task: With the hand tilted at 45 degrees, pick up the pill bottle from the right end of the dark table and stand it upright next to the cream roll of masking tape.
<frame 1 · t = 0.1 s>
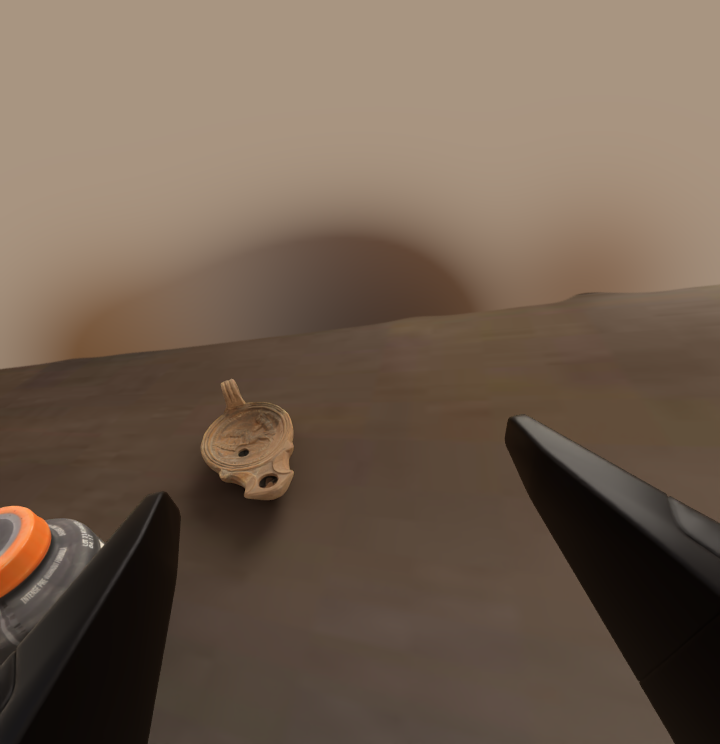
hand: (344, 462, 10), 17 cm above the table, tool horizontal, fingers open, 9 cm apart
oil lamp: (257, 457, 32), on the table
pill bottle: (117, 643, 22), on the table
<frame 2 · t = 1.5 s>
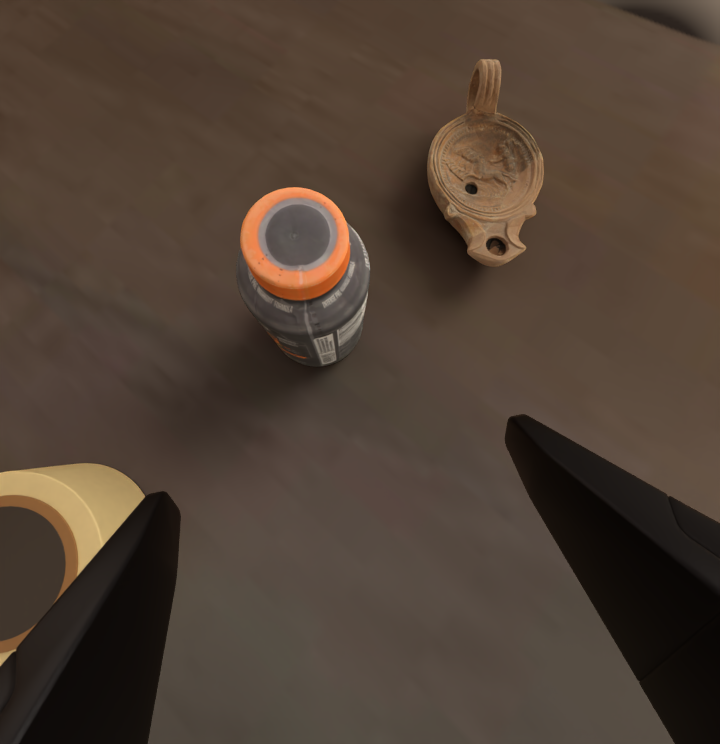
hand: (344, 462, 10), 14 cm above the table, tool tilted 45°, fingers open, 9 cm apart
tape roll: (77, 541, 22), on the table
oil lamp: (470, 195, 27), on the table
pill bottle: (318, 325, 25), on the table
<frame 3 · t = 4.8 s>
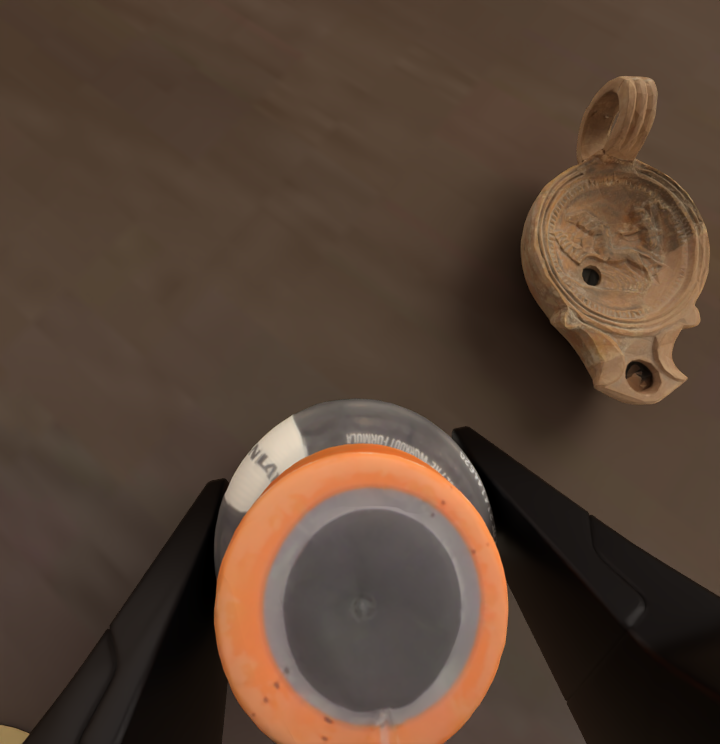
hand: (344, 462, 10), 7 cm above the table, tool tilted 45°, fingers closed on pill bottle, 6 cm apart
oil lamp: (574, 273, 18), on the table
pill bottle: (350, 480, 16), on the table, touching gripper
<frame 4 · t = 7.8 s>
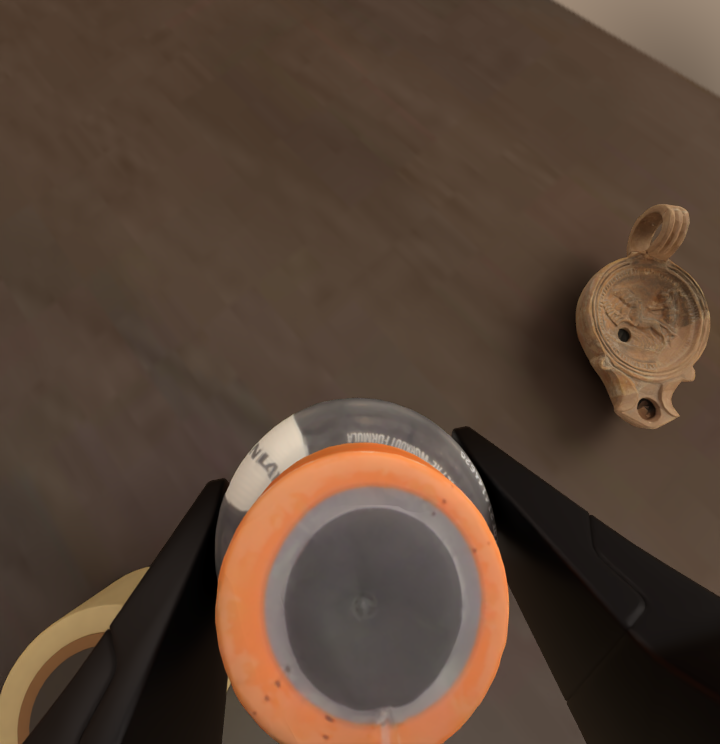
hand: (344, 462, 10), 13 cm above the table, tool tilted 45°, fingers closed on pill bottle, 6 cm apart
tape roll: (157, 650, 21), on the table
oil lamp: (610, 329, 25), on the table
pill bottle: (351, 480, 16), point 6 cm above the table, touching gripper
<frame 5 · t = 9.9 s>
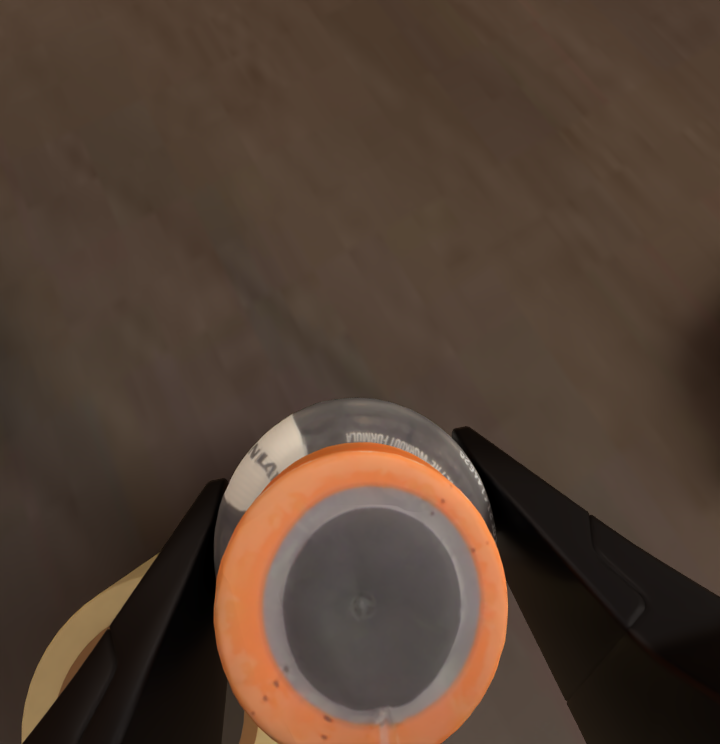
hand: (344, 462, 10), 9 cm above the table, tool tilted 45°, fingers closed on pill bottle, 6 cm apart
tape roll: (209, 634, 17), on the table
pill bottle: (350, 480, 16), point 2 cm above the table, touching gripper
when the fingers open (7 cm above the table, at t = 11.2 s): pill bottle stays where it is, on the table.
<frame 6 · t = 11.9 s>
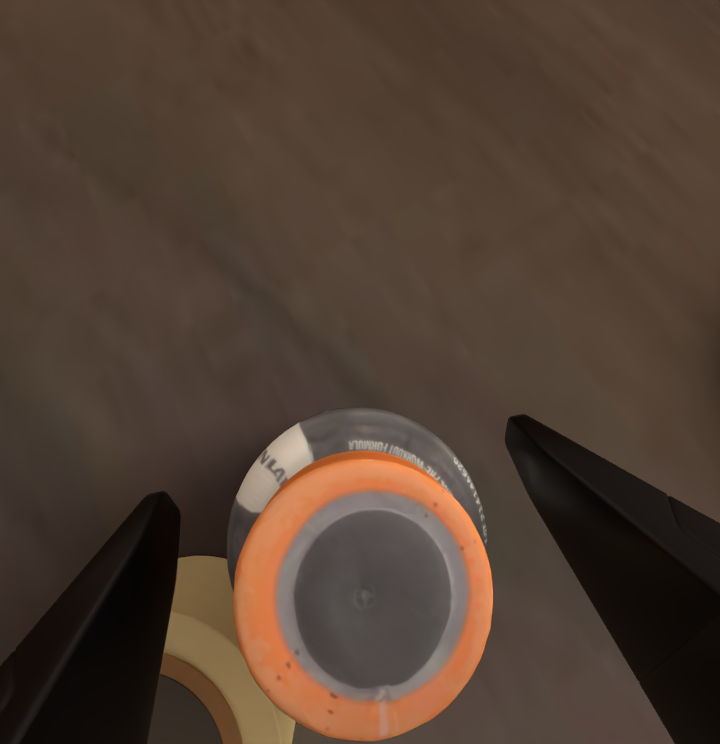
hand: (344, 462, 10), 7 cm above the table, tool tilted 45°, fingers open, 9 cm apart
tape roll: (193, 671, 15), on the table
pill bottle: (351, 482, 17), on the table
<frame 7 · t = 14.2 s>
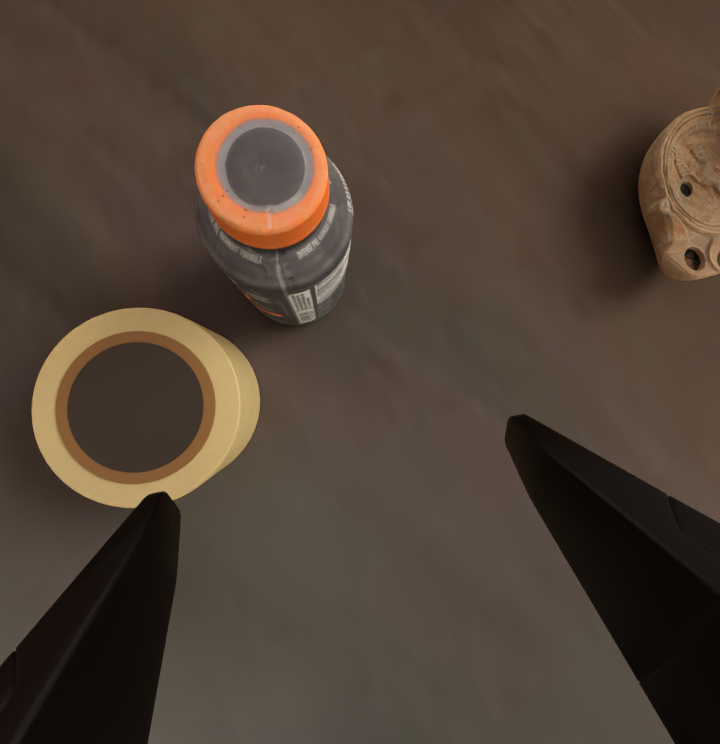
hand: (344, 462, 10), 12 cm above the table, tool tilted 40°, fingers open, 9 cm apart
tape roll: (181, 402, 21), on the table
oil lamp: (668, 196, 25), on the table
pill bottle: (296, 279, 22), on the table
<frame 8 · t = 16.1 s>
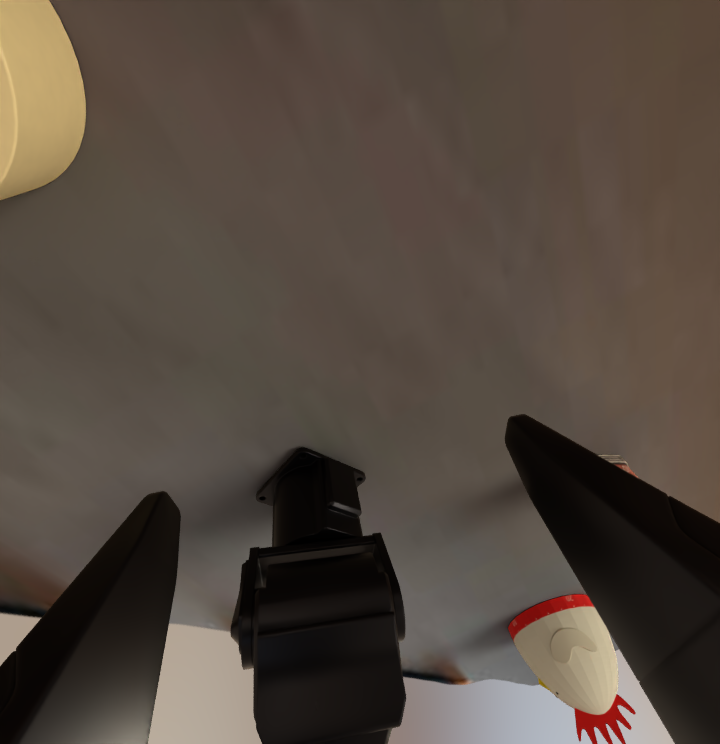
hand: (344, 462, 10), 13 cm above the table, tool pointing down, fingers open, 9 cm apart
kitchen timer: (549, 614, 59), on the table
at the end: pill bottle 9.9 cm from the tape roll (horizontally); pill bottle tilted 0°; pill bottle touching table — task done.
